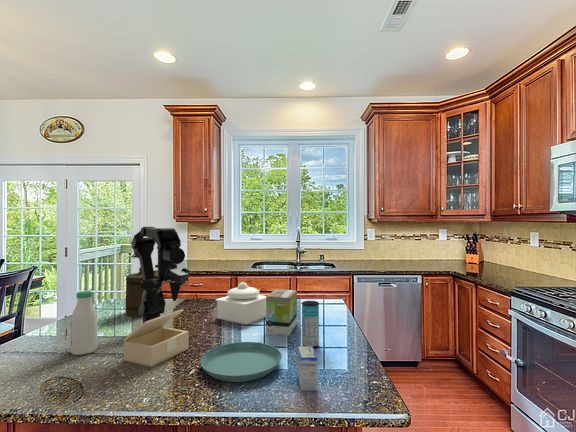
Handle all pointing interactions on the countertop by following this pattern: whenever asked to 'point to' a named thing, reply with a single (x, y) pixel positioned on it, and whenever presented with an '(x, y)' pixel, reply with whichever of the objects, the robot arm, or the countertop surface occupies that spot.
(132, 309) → the wooden container
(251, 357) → the green plate
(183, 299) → the countertop surface
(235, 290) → the white square canister
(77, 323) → the milk bottle
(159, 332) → the cardboard box
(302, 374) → the medicine box
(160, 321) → the lid
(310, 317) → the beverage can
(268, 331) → the tea box
